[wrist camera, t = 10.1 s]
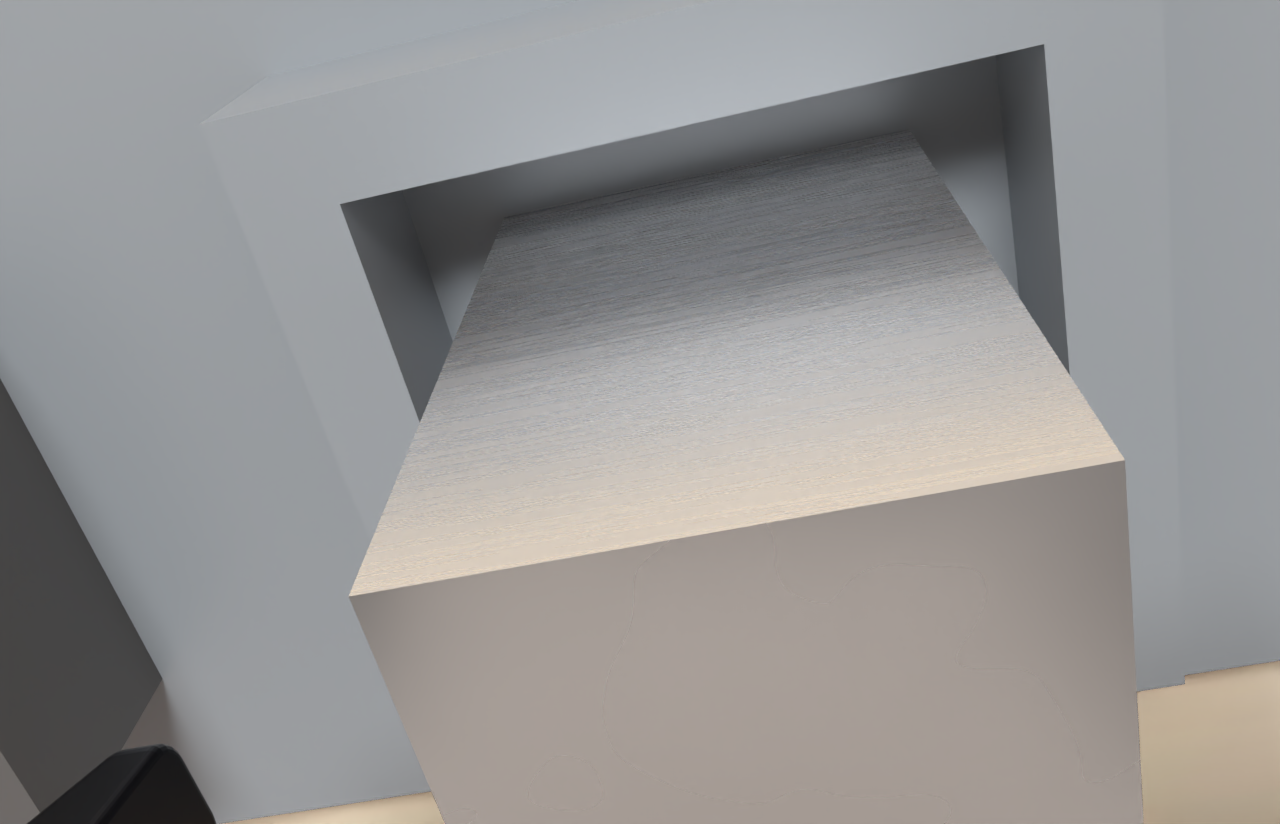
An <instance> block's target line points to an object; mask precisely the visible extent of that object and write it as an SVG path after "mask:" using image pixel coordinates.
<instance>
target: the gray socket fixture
mask: <svg viewBox="0 0 1280 824" xmlns="http://www.w3.org/2000/svg"><path fill="white" fill-rule="evenodd" d="M907 129H909V130H910V131H911V133H912V134H913V136H914V137H915V139H916V141H917V142H918V144H919V145H920V147H921V148H922V150H923V151H924V153H925V154H926V156H927V157H928V159H929V160H930V162H931V164H932V165H933V167H934V168H935V170H936V171H937V173H938V174H939V176H940V177H941V179H942V180H943V182H944V183H945V185H946V187H947V188H948V190H949V191H950V193H951V194H952V196H953V197H954V199H955V200H956V202H957V203H958V205H959V206H960V208H961V210H962V211H963V213H964V214H965V216H966V217H967V219H968V220H969V222H970V223H971V225H972V226H973V228H974V229H975V231H976V232H977V234H978V236H979V237H980V239H981V240H982V242H983V243H984V245H985V246H986V248H987V249H988V251H989V252H990V254H991V255H992V257H993V259H994V260H995V262H996V263H997V265H998V266H999V268H1000V269H1001V271H1002V272H1003V274H1004V275H1005V277H1006V278H1007V280H1008V282H1009V283H1010V285H1011V286H1012V288H1013V289H1014V291H1015V292H1016V294H1017V295H1018V297H1019V298H1020V300H1021V301H1022V303H1023V304H1024V306H1025V308H1026V309H1027V311H1028V312H1029V314H1030V315H1031V317H1032V318H1033V320H1034V321H1035V323H1036V324H1037V326H1038V327H1039V329H1040V331H1041V332H1042V334H1043V335H1044V337H1045V338H1046V340H1047V341H1048V343H1049V344H1050V346H1051V347H1052V349H1053V350H1054V352H1055V354H1056V355H1057V357H1058V358H1059V360H1060V361H1061V363H1062V364H1063V366H1064V367H1065V369H1066V370H1067V372H1068V373H1069V375H1070V376H1071V378H1072V380H1073V381H1074V383H1075V384H1076V386H1077V387H1078V389H1079V390H1080V392H1081V393H1082V395H1083V396H1084V398H1085V399H1086V401H1087V403H1088V404H1089V406H1090V407H1091V409H1092V410H1093V412H1094V413H1095V415H1096V416H1097V418H1098V419H1099V421H1100V422H1101V424H1102V426H1103V427H1104V429H1105V430H1106V432H1107V433H1108V435H1109V436H1110V438H1111V439H1112V441H1113V442H1114V444H1115V445H1116V447H1117V448H1118V450H1119V452H1120V453H1121V455H1122V456H1123V458H1124V459H1125V469H1126V488H1127V508H1128V528H1129V547H1130V567H1131V587H1132V606H1133V626H1134V646H1135V665H1136V685H1137V691H1143V690H1150V689H1156V688H1163V687H1169V686H1176V685H1182V684H1185V675H1189V674H1196V673H1202V672H1209V671H1215V670H1222V669H1228V668H1235V667H1241V666H1248V665H1254V664H1261V663H1267V662H1274V661H1280V0H0V824H27V823H28V822H30V821H31V820H32V819H33V818H34V817H36V816H37V815H38V814H39V813H41V812H42V811H43V810H44V809H45V808H47V807H48V806H49V805H50V804H52V803H53V802H54V801H55V800H56V799H58V798H59V797H60V796H61V795H63V794H64V793H65V792H66V791H67V790H69V789H70V788H71V787H72V786H74V785H75V784H76V783H77V782H78V781H80V780H81V779H82V778H83V777H85V776H86V775H87V774H88V773H90V772H91V771H92V770H93V769H94V768H96V767H97V766H98V765H99V764H101V763H102V762H103V761H104V760H105V759H107V758H108V757H109V756H111V755H112V754H114V753H116V752H118V751H121V750H125V749H130V748H136V747H142V746H148V745H154V744H166V745H170V746H171V747H173V748H174V749H175V750H177V751H178V753H179V754H180V755H181V757H182V759H183V760H184V762H185V764H186V766H187V768H188V770H189V771H190V773H191V775H192V777H193V779H194V780H195V782H196V784H197V786H198V788H199V789H200V791H201V793H202V795H203V797H204V798H205V800H206V802H207V804H208V806H209V808H210V809H211V811H212V813H213V815H214V818H215V821H216V824H221V823H228V822H234V821H241V820H247V819H254V818H260V817H267V816H273V815H280V814H286V813H293V812H299V811H306V810H312V809H319V808H325V807H332V806H338V805H345V804H351V803H358V802H364V801H371V800H377V799H384V798H390V797H397V796H403V795H410V794H416V793H423V792H429V791H431V789H430V787H429V785H428V782H427V780H426V778H425V775H424V773H423V771H422V768H421V766H420V763H419V761H418V759H417V756H416V754H415V752H414V749H413V747H412V745H411V742H410V740H409V738H408V735H407V733H406V731H405V728H404V726H403V724H402V721H401V719H400V716H399V714H398V712H397V709H396V707H395V705H394V702H393V700H392V698H391V695H390V693H389V691H388V688H387V686H386V684H385V681H384V679H383V677H382V674H381V672H380V669H379V667H378V665H377V662H376V660H375V658H374V655H373V653H372V651H371V648H370V646H369V644H368V641H367V639H366V637H365V634H364V632H363V630H362V627H361V625H360V622H359V620H358V618H357V615H356V613H355V611H354V608H353V606H352V604H351V601H350V599H349V597H348V596H349V594H350V592H351V589H352V587H353V584H354V582H355V579H356V577H357V575H358V572H359V570H360V567H361V565H362V562H363V560H364V558H365V555H366V553H367V550H368V548H369V545H370V543H371V540H372V538H373V536H374V533H375V531H376V528H377V526H378V523H379V521H380V519H381V516H382V514H383V511H384V509H385V506H386V504H387V502H388V499H389V497H390V494H391V492H392V489H393V487H394V485H395V482H396V480H397V477H398V475H399V472H400V470H401V467H402V465H403V463H404V460H405V458H406V455H407V453H408V450H409V448H410V446H411V443H412V441H413V438H414V436H415V433H416V431H417V429H418V426H419V424H420V421H421V419H422V416H423V414H424V411H425V409H426V407H427V404H428V402H429V399H430V397H431V394H432V392H433V390H434V387H435V385H436V382H437V380H438V377H439V375H440V373H441V370H442V368H443V365H444V363H445V360H446V358H447V356H448V353H449V351H450V348H451V346H452V343H453V341H454V338H455V336H456V334H457V331H458V329H459V326H460V324H461V321H462V319H463V317H464V314H465V312H466V309H467V307H468V304H469V302H470V300H471V297H472V295H473V292H474V290H475V287H476V285H477V283H478V280H479V278H480V275H481V273H482V270H483V268H484V265H485V263H486V261H487V258H488V256H489V253H490V251H491V248H492V246H493V244H494V241H495V239H496V236H497V234H498V231H499V229H500V227H501V224H502V222H503V219H504V217H506V216H511V215H515V214H520V213H524V212H529V211H534V210H538V209H543V208H547V207H552V206H557V205H561V204H566V203H570V202H575V201H580V200H584V199H589V198H593V197H598V196H603V195H607V194H612V193H616V192H621V191H626V190H630V189H635V188H639V187H644V186H649V185H653V184H658V183H663V182H667V181H672V180H676V179H681V178H686V177H690V176H695V175H699V174H704V173H709V172H713V171H718V170H722V169H727V168H732V167H736V166H741V165H745V164H750V163H755V162H759V161H764V160H768V159H773V158H778V157H782V156H787V155H791V154H796V153H801V152H805V151H810V150H814V149H819V148H824V147H828V146H833V145H837V144H842V143H847V142H851V141H856V140H860V139H865V138H870V137H874V136H879V135H884V134H888V133H893V132H897V131H902V130H907Z"/></svg>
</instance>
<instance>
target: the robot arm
mask: <svg viewBox="0 0 1280 824" xmlns="http://www.w3.org/2000/svg"><path fill="white" fill-rule="evenodd" d="M27 824H216V821H215V818H214V815H213V813H212V811H211V809H210V808H209V806H208V804H207V802H206V800H205V798H204V797H203V795H202V793H201V791H200V789H199V788H198V786H197V784H196V782H195V780H194V779H193V777H192V775H191V773H190V771H189V770H188V768H187V766H186V764H185V762H184V760H183V759H182V757H181V755H180V754H179V753H178V751H177V750H175V749H174V748H173V747H171V746H170V745H166V744H154V745H148V746H142V747H136V748H130V749H125V750H121V751H118V752H116V753H114V754H112V755H111V756H109V757H108V758H107V759H105V760H104V761H103V762H102V763H101V764H99V765H98V766H97V767H96V768H94V769H93V770H92V771H91V772H90V773H88V774H87V775H86V776H85V777H83V778H82V779H81V780H80V781H78V782H77V783H76V784H75V785H74V786H72V787H71V788H70V789H69V790H67V791H66V792H65V793H64V794H63V795H61V796H60V797H59V798H58V799H56V800H55V801H54V802H53V803H52V804H50V805H49V806H48V807H47V808H45V809H44V810H43V811H42V812H41V813H39V814H38V815H37V816H36V817H34V818H33V819H32V820H31V821H30V822H28V823H27Z"/></svg>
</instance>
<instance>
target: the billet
mask: <svg viewBox="0 0 1280 824" xmlns="http://www.w3.org/2000/svg"><path fill="white" fill-rule="evenodd" d="M348 597H349V599H350V601H351V604H352V606H353V608H354V611H355V613H356V615H357V618H358V620H359V622H360V625H361V627H362V630H363V632H364V634H365V637H366V639H367V641H368V644H369V646H370V648H371V651H372V653H373V655H374V658H375V660H376V662H377V665H378V667H379V669H380V672H381V674H382V677H383V679H384V681H385V684H386V686H387V688H388V691H389V693H390V695H391V698H392V700H393V702H394V705H395V707H396V709H397V712H398V714H399V716H400V719H401V721H402V724H403V726H404V728H405V731H406V733H407V735H408V738H409V740H410V742H411V745H412V747H413V749H414V752H415V754H416V756H417V759H418V761H419V763H420V766H421V768H422V771H423V773H424V775H425V778H426V780H427V782H428V785H429V787H430V789H431V792H432V794H433V796H434V799H435V801H436V803H437V806H438V808H439V811H440V813H441V815H442V818H443V820H444V822H445V824H1144V823H1143V803H1142V783H1141V764H1140V744H1139V724H1138V705H1137V685H1136V665H1135V646H1134V626H1133V606H1132V587H1131V567H1130V547H1129V528H1128V508H1127V488H1126V469H1125V459H1124V458H1123V456H1122V455H1121V453H1120V452H1119V450H1118V448H1117V447H1116V445H1115V444H1114V442H1113V441H1112V439H1111V438H1110V436H1109V435H1108V433H1107V432H1106V430H1105V429H1104V427H1103V426H1102V424H1101V422H1100V421H1099V419H1098V418H1097V416H1096V415H1095V413H1094V412H1093V410H1092V409H1091V407H1090V406H1089V404H1088V403H1087V401H1086V399H1085V398H1084V396H1083V395H1082V393H1081V392H1080V390H1079V389H1078V387H1077V386H1076V384H1075V383H1074V381H1073V380H1072V378H1071V376H1070V375H1069V373H1068V372H1067V370H1066V369H1065V367H1064V366H1063V364H1062V363H1061V361H1060V360H1059V358H1058V357H1057V355H1056V354H1055V352H1054V350H1053V349H1052V347H1051V346H1050V344H1049V343H1048V341H1047V340H1046V338H1045V337H1044V335H1043V334H1042V332H1041V331H1040V329H1039V327H1038V326H1037V324H1036V323H1035V321H1034V320H1033V318H1032V317H1031V315H1030V314H1029V312H1028V311H1027V309H1026V308H1025V306H1024V304H1023V303H1022V301H1021V300H1020V298H1019V297H1018V295H1017V294H1016V292H1015V291H1014V289H1013V288H1012V286H1011V285H1010V283H1009V282H1008V280H1007V278H1006V277H1005V275H1004V274H1003V272H1002V271H1001V269H1000V268H999V266H998V265H997V263H996V262H995V260H994V259H993V257H992V255H991V254H990V252H989V251H988V249H987V248H986V246H985V245H984V243H983V242H982V240H981V239H980V237H979V236H978V234H977V232H976V231H975V229H974V228H973V226H972V225H971V223H970V222H969V220H968V219H967V217H966V216H965V214H964V213H963V211H962V210H961V208H960V206H959V205H958V203H957V202H956V200H955V199H954V197H953V196H952V194H951V193H950V191H949V190H948V188H947V187H946V185H945V183H944V182H943V180H942V179H941V177H940V176H939V174H938V173H937V171H936V170H935V168H934V167H933V165H932V164H931V162H930V160H929V159H928V157H927V156H926V154H925V153H924V151H923V150H922V148H921V147H920V145H919V144H918V142H917V141H916V139H915V137H914V136H913V134H912V133H911V131H910V130H909V129H907V130H902V131H897V132H893V133H888V134H884V135H879V136H874V137H870V138H865V139H860V140H856V141H851V142H847V143H842V144H837V145H833V146H828V147H824V148H819V149H814V150H810V151H805V152H801V153H796V154H791V155H787V156H782V157H778V158H773V159H768V160H764V161H759V162H755V163H750V164H745V165H741V166H736V167H732V168H727V169H722V170H718V171H713V172H709V173H704V174H699V175H695V176H690V177H686V178H681V179H676V180H672V181H667V182H663V183H658V184H653V185H649V186H644V187H639V188H635V189H630V190H626V191H621V192H616V193H612V194H607V195H603V196H598V197H593V198H589V199H584V200H580V201H575V202H570V203H566V204H561V205H557V206H552V207H547V208H543V209H538V210H534V211H529V212H524V213H520V214H515V215H511V216H506V217H504V219H503V222H502V224H501V227H500V229H499V231H498V234H497V236H496V239H495V241H494V244H493V246H492V248H491V251H490V253H489V256H488V258H487V261H486V263H485V265H484V268H483V270H482V273H481V275H480V278H479V280H478V283H477V285H476V287H475V290H474V292H473V295H472V297H471V300H470V302H469V304H468V307H467V309H466V312H465V314H464V317H463V319H462V321H461V324H460V326H459V329H458V331H457V334H456V336H455V338H454V341H453V343H452V346H451V348H450V351H449V353H448V356H447V358H446V360H445V363H444V365H443V368H442V370H441V373H440V375H439V377H438V380H437V382H436V385H435V387H434V390H433V392H432V394H431V397H430V399H429V402H428V404H427V407H426V409H425V411H424V414H423V416H422V419H421V421H420V424H419V426H418V429H417V431H416V433H415V436H414V438H413V441H412V443H411V446H410V448H409V450H408V453H407V455H406V458H405V460H404V463H403V465H402V467H401V470H400V472H399V475H398V477H397V480H396V482H395V485H394V487H393V489H392V492H391V494H390V497H389V499H388V502H387V504H386V506H385V509H384V511H383V514H382V516H381V519H380V521H379V523H378V526H377V528H376V531H375V533H374V536H373V538H372V540H371V543H370V545H369V548H368V550H367V553H366V555H365V558H364V560H363V562H362V565H361V567H360V570H359V572H358V575H357V577H356V579H355V582H354V584H353V587H352V589H351V592H350V594H349V596H348Z"/></svg>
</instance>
